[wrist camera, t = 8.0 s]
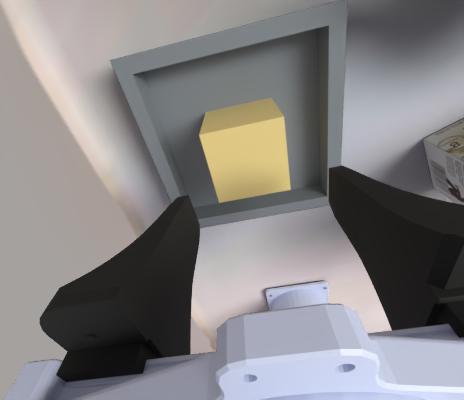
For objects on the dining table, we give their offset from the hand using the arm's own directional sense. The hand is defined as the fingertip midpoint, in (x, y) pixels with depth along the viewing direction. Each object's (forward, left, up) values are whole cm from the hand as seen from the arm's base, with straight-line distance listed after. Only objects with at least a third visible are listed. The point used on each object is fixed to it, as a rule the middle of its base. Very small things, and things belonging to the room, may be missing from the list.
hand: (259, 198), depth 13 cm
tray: (0, 0, -9) cm, 9 cm away
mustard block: (0, 0, -9) cm, 9 cm away
